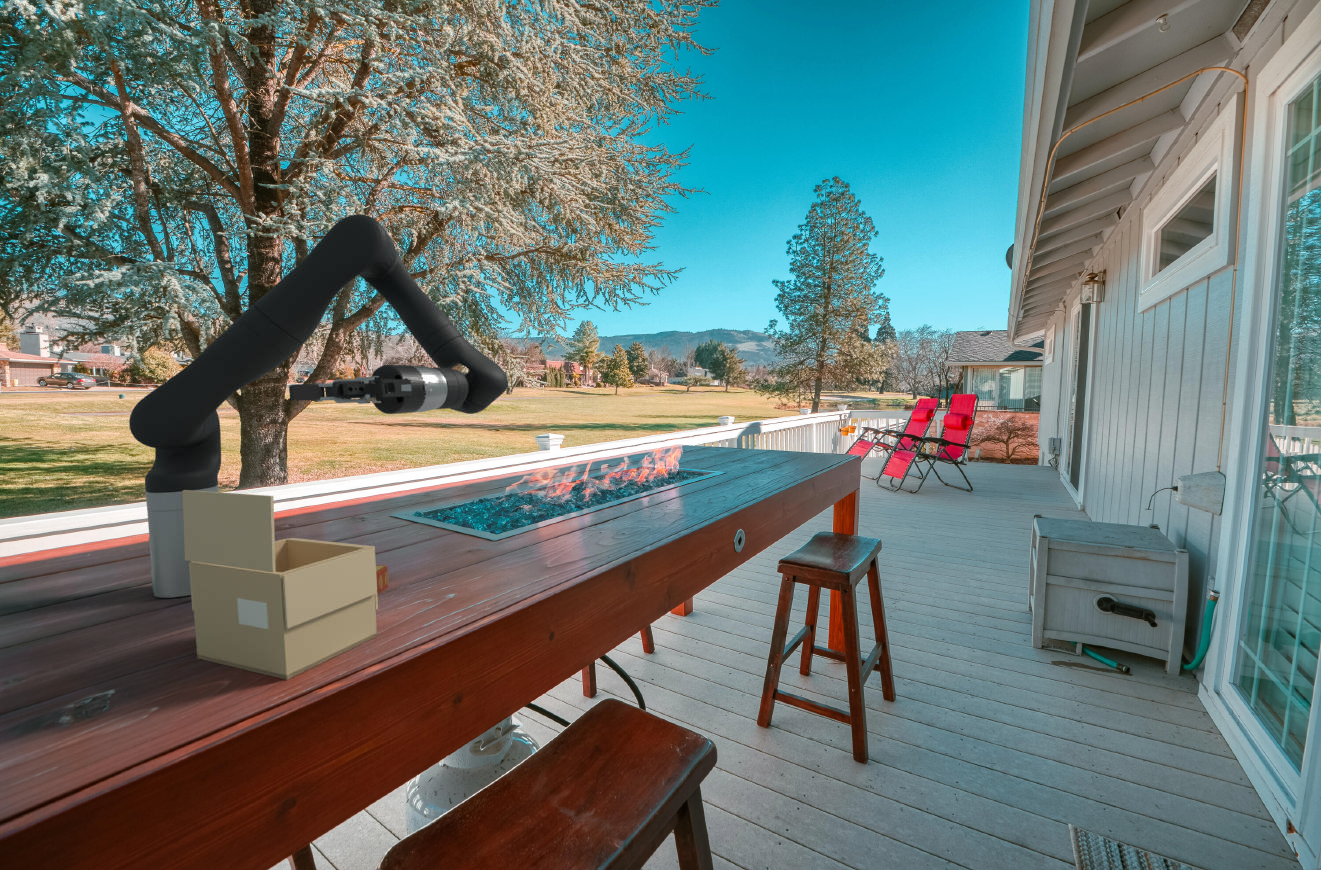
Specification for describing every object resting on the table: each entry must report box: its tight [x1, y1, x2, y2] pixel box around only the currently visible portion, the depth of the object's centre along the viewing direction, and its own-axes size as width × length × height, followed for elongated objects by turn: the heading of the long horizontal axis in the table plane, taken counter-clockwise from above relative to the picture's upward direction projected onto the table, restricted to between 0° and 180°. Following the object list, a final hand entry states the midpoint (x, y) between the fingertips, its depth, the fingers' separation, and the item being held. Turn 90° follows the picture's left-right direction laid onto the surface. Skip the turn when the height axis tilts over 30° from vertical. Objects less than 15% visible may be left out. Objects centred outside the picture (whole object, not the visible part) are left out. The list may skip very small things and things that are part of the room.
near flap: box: [183, 490, 276, 573], centre depth 64 cm, size 16×8×1 cm
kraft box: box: [189, 537, 379, 681], centre depth 70 cm, size 17×13×12 cm
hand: (312, 391), depth 74 cm, fingers open, 8 cm apart
